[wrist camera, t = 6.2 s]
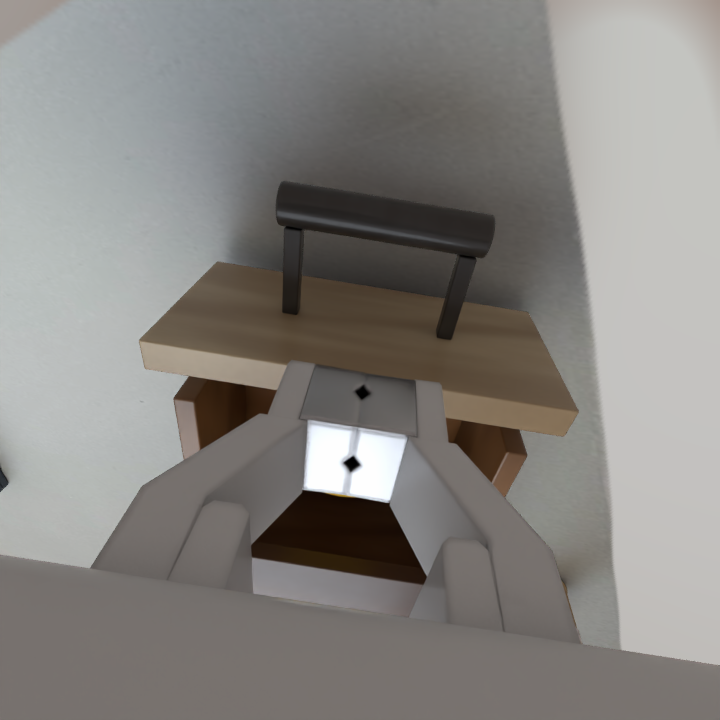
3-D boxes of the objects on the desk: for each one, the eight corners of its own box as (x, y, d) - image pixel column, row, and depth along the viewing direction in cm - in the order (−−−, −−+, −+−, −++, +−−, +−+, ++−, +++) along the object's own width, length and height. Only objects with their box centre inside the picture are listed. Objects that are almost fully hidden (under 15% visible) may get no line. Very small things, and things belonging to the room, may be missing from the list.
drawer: (208, 146, 16) (104, 185, 11) (572, 206, 16) (660, 277, 11) (231, 468, 27) (187, 570, 22) (447, 503, 27) (458, 614, 22)
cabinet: (224, 412, 26) (155, 541, 18) (472, 452, 26) (498, 596, 19) (234, 549, 34) (191, 670, 27) (418, 578, 35) (422, 707, 28)
